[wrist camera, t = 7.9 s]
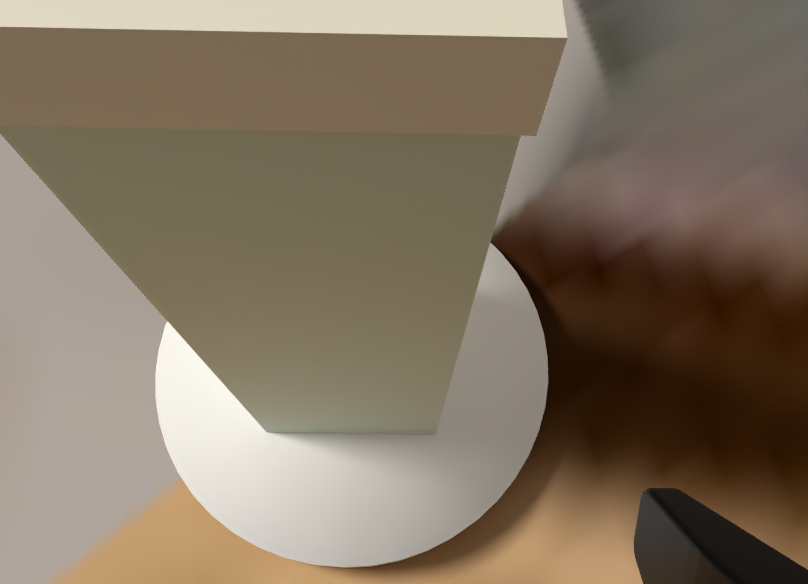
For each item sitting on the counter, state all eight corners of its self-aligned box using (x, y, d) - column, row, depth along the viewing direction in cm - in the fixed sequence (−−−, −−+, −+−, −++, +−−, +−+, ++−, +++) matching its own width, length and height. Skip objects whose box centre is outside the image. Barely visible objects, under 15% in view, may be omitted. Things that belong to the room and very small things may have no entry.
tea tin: (439, 438, 16) (566, 38, 4) (262, 436, 16) (-127, 24, 4) (437, 280, 18) (518, -293, 6) (280, 278, 18) (56, -304, 6)
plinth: (380, 667, 15) (379, 675, 14) (91, 394, 18) (70, 382, 16) (607, 340, 18) (620, 326, 17) (338, 159, 21) (336, 136, 20)
